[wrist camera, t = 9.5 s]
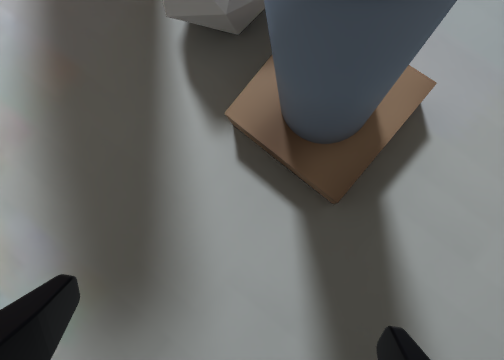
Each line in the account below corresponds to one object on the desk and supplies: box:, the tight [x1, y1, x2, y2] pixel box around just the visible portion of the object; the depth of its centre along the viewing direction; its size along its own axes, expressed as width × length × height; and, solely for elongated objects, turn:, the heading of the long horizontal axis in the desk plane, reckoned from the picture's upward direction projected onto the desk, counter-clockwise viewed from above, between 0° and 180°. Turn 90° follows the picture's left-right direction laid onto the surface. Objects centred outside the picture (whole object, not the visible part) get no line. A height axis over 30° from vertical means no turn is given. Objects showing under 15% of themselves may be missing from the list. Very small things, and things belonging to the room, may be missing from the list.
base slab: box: [224, 55, 437, 204], centre depth 19 cm, size 9×9×2 cm
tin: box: [264, 0, 457, 144], centre depth 12 cm, size 6×6×13 cm
